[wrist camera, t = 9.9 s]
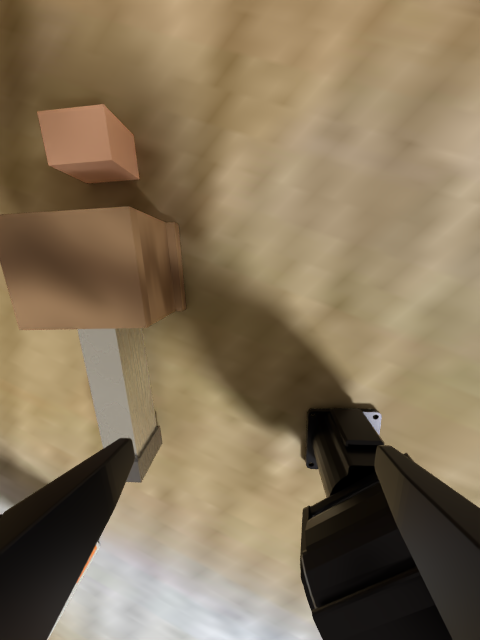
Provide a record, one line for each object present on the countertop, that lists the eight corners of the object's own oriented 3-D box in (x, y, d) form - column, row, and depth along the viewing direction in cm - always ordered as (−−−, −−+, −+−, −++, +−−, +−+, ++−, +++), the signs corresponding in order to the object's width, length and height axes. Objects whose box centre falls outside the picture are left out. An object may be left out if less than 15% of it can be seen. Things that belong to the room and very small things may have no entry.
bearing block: (186, 308, 20) (156, 327, 14) (80, 311, 21) (10, 330, 15) (178, 224, 19) (140, 205, 13) (64, 230, 19) (-23, 215, 13)
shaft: (162, 443, 23) (141, 482, 19) (131, 442, 23) (104, 480, 19) (135, 254, 18) (100, 252, 14) (97, 256, 19) (53, 254, 15)
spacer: (112, 160, 15) (103, 103, 14) (48, 165, 15) (36, 111, 14) (140, 179, 18) (134, 135, 17) (87, 183, 19) (80, 140, 18)
